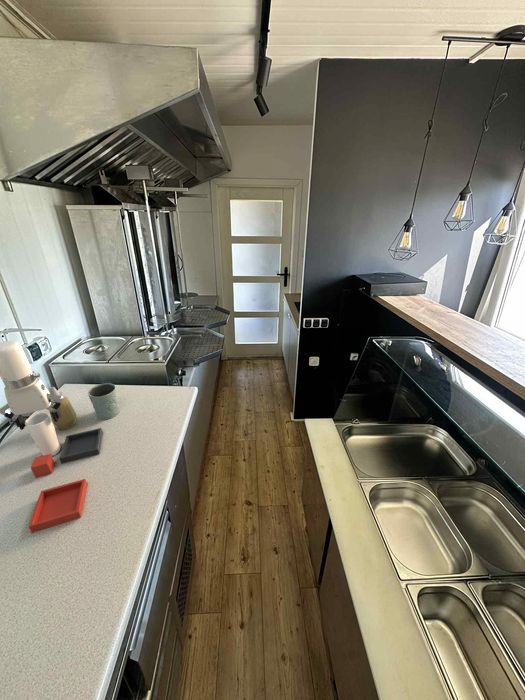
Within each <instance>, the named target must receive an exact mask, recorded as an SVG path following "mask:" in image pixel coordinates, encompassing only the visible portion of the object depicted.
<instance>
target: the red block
mask: <svg viewBox="0 0 525 700" xmlns="http://www.w3.org/2000/svg"><path fill="white" fill-rule="evenodd" d="M55 465H56V462H55V459H54V456H52V455H51V454H48V455H40V456H35V457H34V459H33V460H32V463H31V466H30V470H31V471H32V474H33V475H34V478H35V479H37V478H40V477H44V476H47V475H48V476H49V475H51V474H53V471H54V468H55Z"/></svg>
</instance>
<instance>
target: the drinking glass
mask: <svg viewBox="0 0 525 700" xmlns="http://www.w3.org/2000/svg"><path fill="white" fill-rule="evenodd" d="M25 425H26V426H25V427H26V430H27V432H28V434H29V436H30V437H31V438H32V440H33V442H34V444H35V445H36V446H37V448H38V449H39V451H40V452H41V456H43V455H48V454H51V455H52V457H54V456H56V455H57V454H58V453H60V452H61V450H62V448H61V445H60V443H59V438H58V436H57V432H56V428H55V425H54V424H53V422H52V419H51V415H50V413H47V412H39V413H35V414H33V415H31V416H29V417H28V418H26V420H25Z"/></svg>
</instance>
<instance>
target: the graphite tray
mask: <svg viewBox="0 0 525 700" xmlns="http://www.w3.org/2000/svg"><path fill="white" fill-rule="evenodd" d="M103 435H104V432H103V428H102V427H100V428H94V429H89V430H86V431H85V430H84V431H82V432H77V433H72V434H69V435H66V436H65V439H64V441H63V445H62V448H61V450H60V454H59V457H58V459H59V462H60V464H61V465H62V464H66V463H70V462H75V461H78V460H83V459H85V458H91V457H94V456H96V455H100V453H101V447H102V441H103Z"/></svg>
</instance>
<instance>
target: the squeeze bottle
mask: <svg viewBox="0 0 525 700" xmlns="http://www.w3.org/2000/svg"><path fill="white" fill-rule="evenodd" d="M50 394H52V395H59V396H63V398H62V402H61V405H60V406H59V408H58V411H59V413H60V418H59V419H58V422H55V421H54V419H53V417H52V415H51V412H52V411H50V410H48V411H49V416H50V418H51V420H52V422H53V425H54V427H56V428H58V430H60V431H65V430H69V429H71V428H73V427H75V425H76V424H77V412H76V410H75V409H74V407H73V405H72V403H71V402H70V399H69V398H68V397H67V396H64V392H62V391H58V389H56V387H55V386H51V387H50ZM51 402H52V403H55V404H56V403H57V401H56V400H52V401H51Z"/></svg>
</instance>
